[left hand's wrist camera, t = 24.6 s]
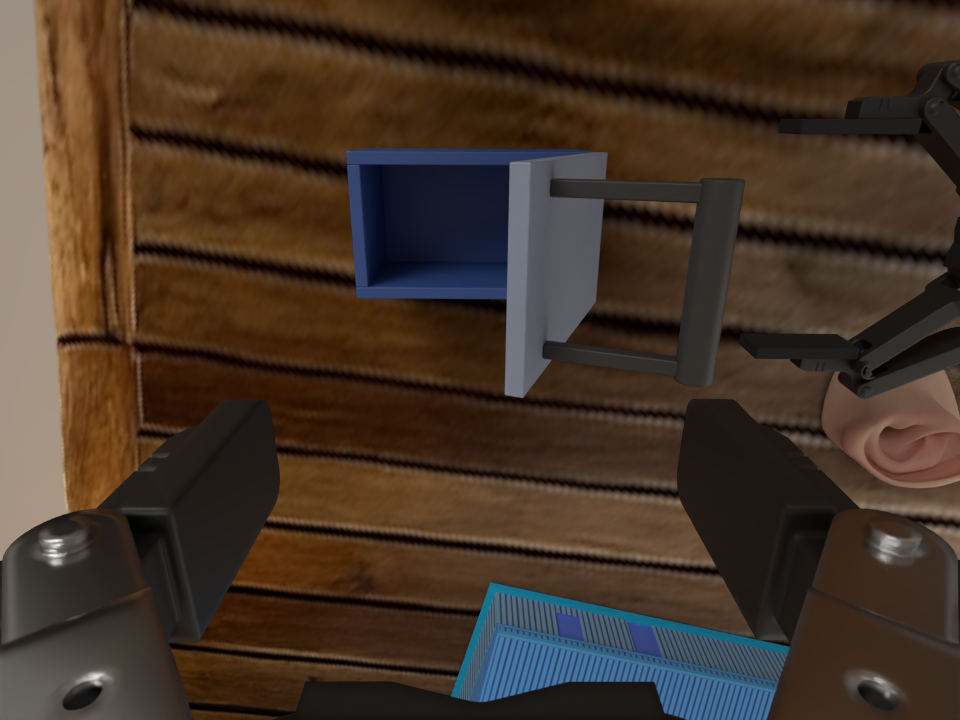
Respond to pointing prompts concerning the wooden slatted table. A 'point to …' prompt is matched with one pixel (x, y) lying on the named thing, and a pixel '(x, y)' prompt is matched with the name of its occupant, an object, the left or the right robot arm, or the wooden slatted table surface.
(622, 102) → the wooden slatted table surface
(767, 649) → the model building
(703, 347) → the grey lid
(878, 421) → the anatomical model
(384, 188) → the chest
